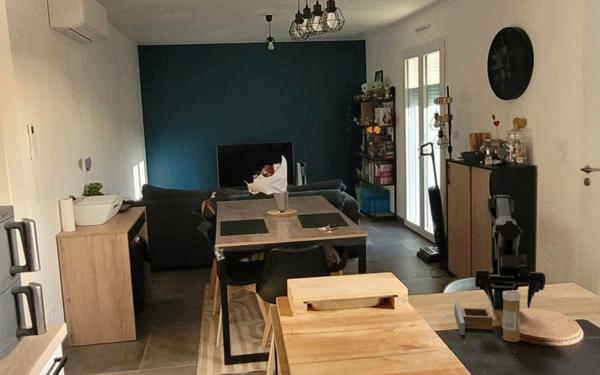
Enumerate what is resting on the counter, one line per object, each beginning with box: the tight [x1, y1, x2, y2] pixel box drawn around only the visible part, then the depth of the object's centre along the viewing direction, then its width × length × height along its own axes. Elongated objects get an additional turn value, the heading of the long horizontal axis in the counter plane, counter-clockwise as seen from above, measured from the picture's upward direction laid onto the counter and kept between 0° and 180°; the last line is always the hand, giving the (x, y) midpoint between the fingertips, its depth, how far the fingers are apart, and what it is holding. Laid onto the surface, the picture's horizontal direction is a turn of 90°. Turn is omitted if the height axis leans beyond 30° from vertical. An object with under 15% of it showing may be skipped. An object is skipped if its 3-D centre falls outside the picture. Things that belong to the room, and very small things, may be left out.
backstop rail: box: [454, 301, 466, 336], centre depth 166 cm, size 20×1×4 cm, turn 169°
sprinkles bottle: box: [502, 290, 521, 343], centre depth 151 cm, size 5×5×14 cm
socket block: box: [460, 307, 494, 330], centre depth 165 cm, size 8×8×4 cm
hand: (510, 306), depth 153 cm, fingers open, 9 cm apart
